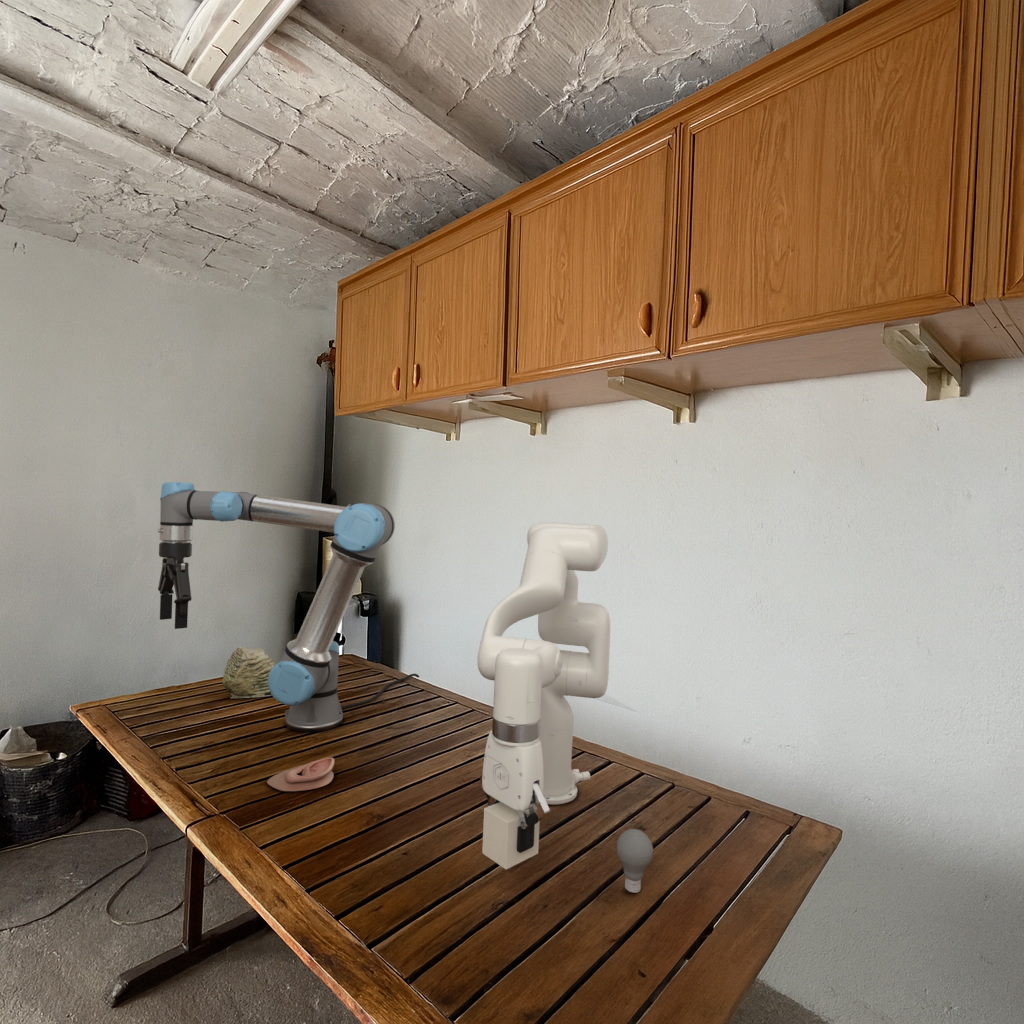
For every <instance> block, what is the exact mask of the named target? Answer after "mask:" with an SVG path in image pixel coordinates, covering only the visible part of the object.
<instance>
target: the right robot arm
mask: <svg viewBox="0 0 1024 1024" xmlns="http://www.w3.org/2000/svg"><path fill="white" fill-rule="evenodd" d="M526 535H527V536H526V542H527V550H526V553H525V558H524V563H523V568H522V572H521V575H520V581H519V586H518V587H517V588H516V589H514V590H513V591H512V592H510V593H509V594H507V595H506V596H505V597H503V599H502V600H500V601H499V602H498V603H497V604H496V605H495V606H494V608H492V610H491V611H490V613H489V615H488V617H487V618H486V620H485V624H484V627H483V631H482V635H481V639H480V643H479V646H478V652H477V669H478V672H479V674H480V675H481V676H482V677H483V678H484V679H486V680H489V681H494V683H493V686H494V687H493V688H494V689H493V705H492V706H493V708H492V709H493V710H492V715H491V719H492V727H491V728H492V730H490V731H489V733H488V735H487V740H486V744H485V749H484V755H483V763H482V773H481V775H480V776H479V781H480V783H481V788H482V789H483V792H484V793H485V796H486V798H487V800H488V801H487V807H489V806H491V805H494V804H496V803H499V802H502V803H503V804H505V805H507V806H509V807H510V808H512V809H514V810H516V811H518V813H519V819H520V824H521V826H518V831H517V851H518V852H519V853H522V852H524V851H526V850H528V849H530V848H532V847H533V846H534V829H535V824H537V823H538V821H541V820H543V819H544V818H545V817H547V816H548V815H549V814H550V813H551V809H550V807H549V805H552V806H554V805H555V806H556V805H564V804H568V803H570V802H572V801H573V800H575V799H576V798H577V796H578V787H577V784H578V783H580V782H588V781H590V780H591V773H590V771H581V772H580V769H579V768H574V769H572V761H573V760H572V759H573V741H574V740H573V739H574V719H575V718H574V711H573V709H572V707H571V704H570V703H569V701H568V699H566V697H567V696H568V697H577V698H586V699H587V698H589V699H600V698H601V697H603V696H604V695H605V694H606V692H607V689H608V686H609V685H608V684H609V676H610V675H609V674H610V653H611V652H610V650H611V649H610V648H611V618H610V613H609V610H608V608H606V607H605V606H604V605H602V604H600V603H593V602H582V601H579V599H578V593H579V592H578V591H579V577H578V576H577V574H576V572H577V571H579V572H596V571H598V570H599V569H600V568H601V566H602V564H603V563H604V562H605V560H606V558H607V554H608V549H609V538H608V534H607V532H606V528H604V527H603V526H601V525H598V524H585V523H584V524H583V523H582V524H581V523H568V522H540V523H534V524H532V525H531V526H530V527H529V528H528V530H527V534H526ZM575 571H576V572H575ZM537 615H538V616H537ZM534 616H537V630H538V631H537V632H538V635H539V638H540V639H531V638H523V637H513V636H512V637H511V636H503V635H504V633H505V632H506V630H508V628H510V627H511V626H513V625H514V624H516V623H518V622H520V621H523V620H526V619H528V618H531V617H534ZM558 645H565V646H574V647H584V648H586V649H587V650H588V652H582V651H573V650H565V649H560V648H559V647H558ZM565 696H566V697H565ZM536 808H537V810H536ZM527 809H529V813H530V815H529V816H528V817H527V815H526V810H527Z"/></svg>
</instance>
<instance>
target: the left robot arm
mask: <svg viewBox="0 0 1024 1024" xmlns="http://www.w3.org/2000/svg"><path fill="white" fill-rule="evenodd" d="M159 501H160V518H159V519H160V521H159V528H157V529H156V531H157V533H159V541H160V542H159V543H158V556H159V557H160V558H162V559H161V560H162V562H161V563H162V564H161V571H160V577H159V581H158V587H157V591H158V592H159V594H160V596H159V598H160V599H159V600H160V601H159V620H160V621H164V620H172V618H173V603H174V604H175V606H174V611H175V612H174V629H175V630H178V629H188V615H189V602H190V601H192V592H191V583H190V574H189V567H190V566H189V562H185V561H184V559H185V558H191V557H192V556H193V555H192V554H193V543H192V542H191V541H193V540H194V539H193V537H194V536H193V535H194V521H195V520H196V521H200V520H201V521H217V522H222V523H223V522H234V521H237V520H239V521H240V520H241V521H247V522H257V523H263V524H270V525H276V526H283V527H284V526H285V527H291V528H298V529H305V530H312V531H318V532H319V531H320V532H326V533H332V534H334V536H333V538H332V539H331V543H330V545H329V547H330V550H331V552H332V555H331V558H330V560H329V563H328V565H327V567H326V569H325V572H324V574H323V577H322V579H321V581H320V583H319V585H318V588H317V590H316V591H315V595H314V597H313V600H312V602H311V604H310V606H309V609H308V611H307V613H306V616H305V617H304V620H303V623H302V624H301V627H300V629H299V631H298V634H297V636H296V638H295V639H292V640H290V641H288V642H287V644H286V646H285V649H284V651H283V653H282V655H281V658H280V660H279V662H277V663H275V666H274V667H273V668H272V670H271V671H270V673H269V676H268V688H269V690H270V692H271V695H272V697H273V698H274V700H276V701H277V702H278V703H280V704H282V705H285V706H289V708H288V709H285V710H284V717H285V726H286V728H287V729H289V730H291V731H294V732H295V731H296V732H301V733H316V732H325V731H329V730H332V729H335V728H337V727H339V726H340V725H342V723H343V722H344V713H343V709H347V708H352V707H355V706H360V705H363V704H367V703H369V702H371V701H374V700H376V699H377V698H378V697H379V696H381V694H383V693H384V692H385V691H386V689H387V688H389V687H390V686H392V685H394V684H397V683H400V682H403V681H405V680H407V679H409V678H412V677H415V678H420V675H419V674H417V673H410V674H409V675H406V676H404V677H401V678H399V679H395V680H393V681H391V682H389V683H388V684H386V685H385V686H383V688H381V690H380V691H378V692H377V694H375V695H374V696H372V697H370V698H368V699H364V700H361V701H355V702H353V703H348V704H344V705H341V702H340V699H339V695H338V682H339V681H338V680H339V678H338V677H339V662H340V661H339V660H340V659H339V657H340V645H339V643H338V642H337V641H335V640H334V639H335V637H336V634H337V632H338V630H339V627H340V626H341V623H342V620H343V618H344V616H345V614H346V612H347V609H348V607H349V605H350V602H351V600H352V598H353V595H354V593H355V591H356V588H357V586H358V584H359V582H360V579H361V577H362V575H363V573H364V570H365V568H366V567H368V566H370V565H372V564H374V562H375V560H376V557H377V555H378V553H379V551H380V548H381V546H382V545H385V544H386V543H387V542H389V541H390V539H392V536H393V535H394V533H395V528H396V527H395V526H396V525H395V519H394V516H393V514H392V513H391V511H390V510H389V509H387V508H386V507H385V506H383V505H381V504H377V503H349V504H347V506H344V505H343V506H342V505H335V504H329V503H322V502H315V501H307V500H299V499H294V498H293V499H292V498H286V497H285V498H284V497H278V496H271V495H270V496H269V495H263V494H255V493H250V492H247V491H237V492H236V491H223V490H222V491H216V490H215V491H214V490H212V491H211V490H196V489H195V485H194V483H192V482H179V481H165V482H163V483H162V485H161V491H160V498H159ZM173 588H174V589H173ZM174 594H175V598H176V599H174V601H173V595H174Z"/></svg>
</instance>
